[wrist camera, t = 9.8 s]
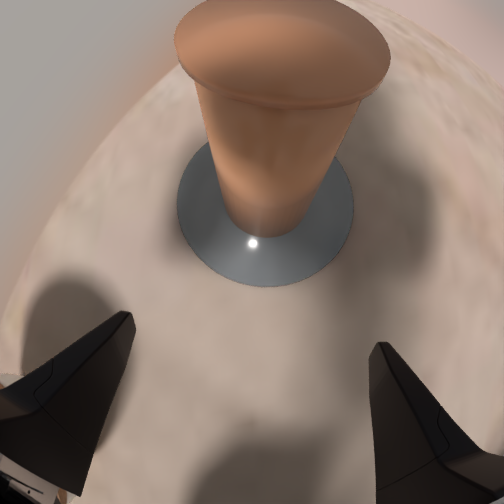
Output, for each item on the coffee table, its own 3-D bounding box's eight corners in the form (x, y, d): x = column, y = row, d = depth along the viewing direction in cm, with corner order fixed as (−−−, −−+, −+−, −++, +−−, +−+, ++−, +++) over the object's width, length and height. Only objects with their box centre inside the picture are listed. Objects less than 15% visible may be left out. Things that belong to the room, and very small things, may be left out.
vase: (282, 260, 18) (346, 142, 5) (200, 210, 19) (129, 53, 6) (328, 185, 19) (407, 34, 6) (252, 142, 20) (251, -23, 7)
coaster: (242, 324, 18) (242, 324, 17) (151, 181, 20) (148, 177, 19) (382, 222, 19) (385, 219, 18) (283, 106, 21) (283, 102, 21)
